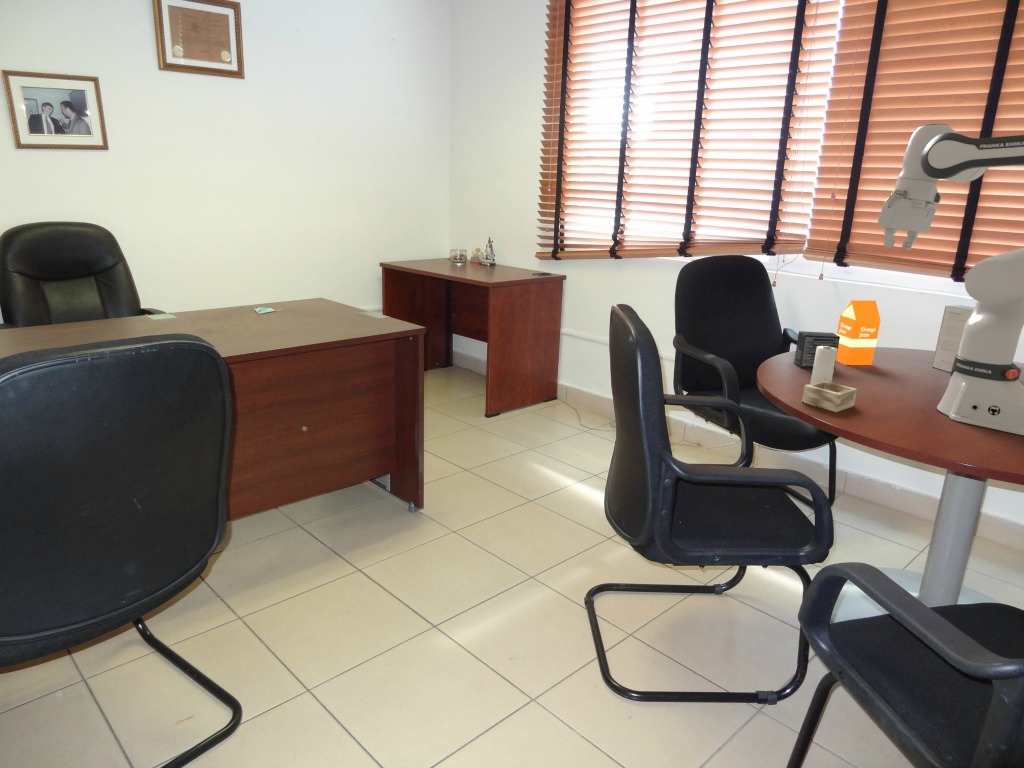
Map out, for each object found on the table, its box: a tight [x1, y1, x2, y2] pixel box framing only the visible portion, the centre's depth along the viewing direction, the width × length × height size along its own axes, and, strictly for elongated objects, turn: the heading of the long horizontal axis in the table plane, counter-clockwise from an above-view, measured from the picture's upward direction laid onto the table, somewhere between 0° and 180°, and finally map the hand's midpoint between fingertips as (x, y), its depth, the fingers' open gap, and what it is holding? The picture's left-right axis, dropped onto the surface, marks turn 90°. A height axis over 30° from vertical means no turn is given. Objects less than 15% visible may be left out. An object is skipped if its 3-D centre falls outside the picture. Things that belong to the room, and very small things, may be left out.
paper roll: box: [809, 346, 837, 384], centre depth 176 cm, size 5×5×12 cm
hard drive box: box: [931, 304, 975, 373], centre depth 200 cm, size 16×8×20 cm, turn 22°
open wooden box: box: [801, 380, 858, 413], centre depth 166 cm, size 9×9×4 cm
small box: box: [793, 330, 840, 370], centre depth 202 cm, size 11×6×10 cm, turn 84°
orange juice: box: [835, 299, 881, 366], centre depth 207 cm, size 8×9×20 cm
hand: (897, 248), depth 170 cm, fingers open, 8 cm apart
